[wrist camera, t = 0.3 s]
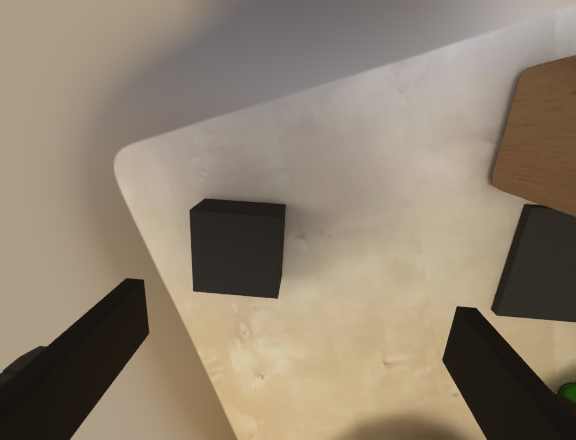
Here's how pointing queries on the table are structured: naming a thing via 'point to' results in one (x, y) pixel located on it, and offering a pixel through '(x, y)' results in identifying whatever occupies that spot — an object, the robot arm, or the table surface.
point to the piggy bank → (568, 391)
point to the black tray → (540, 268)
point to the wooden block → (541, 138)
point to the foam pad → (237, 247)
